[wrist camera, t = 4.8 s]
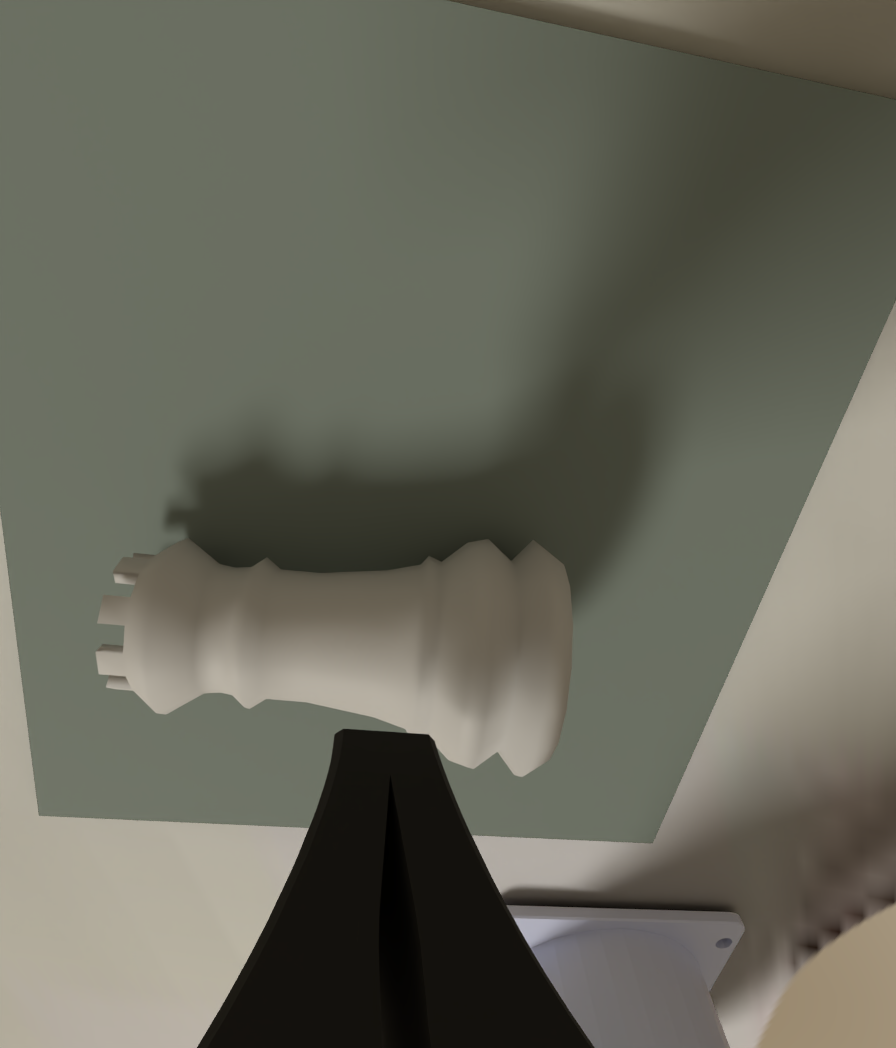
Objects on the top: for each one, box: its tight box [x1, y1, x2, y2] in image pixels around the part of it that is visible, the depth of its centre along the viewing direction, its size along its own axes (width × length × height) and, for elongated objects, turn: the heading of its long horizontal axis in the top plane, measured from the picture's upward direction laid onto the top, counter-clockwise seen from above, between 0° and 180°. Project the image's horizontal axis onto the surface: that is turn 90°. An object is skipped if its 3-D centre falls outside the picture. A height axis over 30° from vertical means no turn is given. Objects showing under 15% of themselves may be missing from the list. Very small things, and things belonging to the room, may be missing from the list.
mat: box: [0, 0, 896, 843], centre depth 15 cm, size 18×16×1 cm
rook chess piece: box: [96, 538, 573, 777], centre depth 14 cm, size 4×4×8 cm
